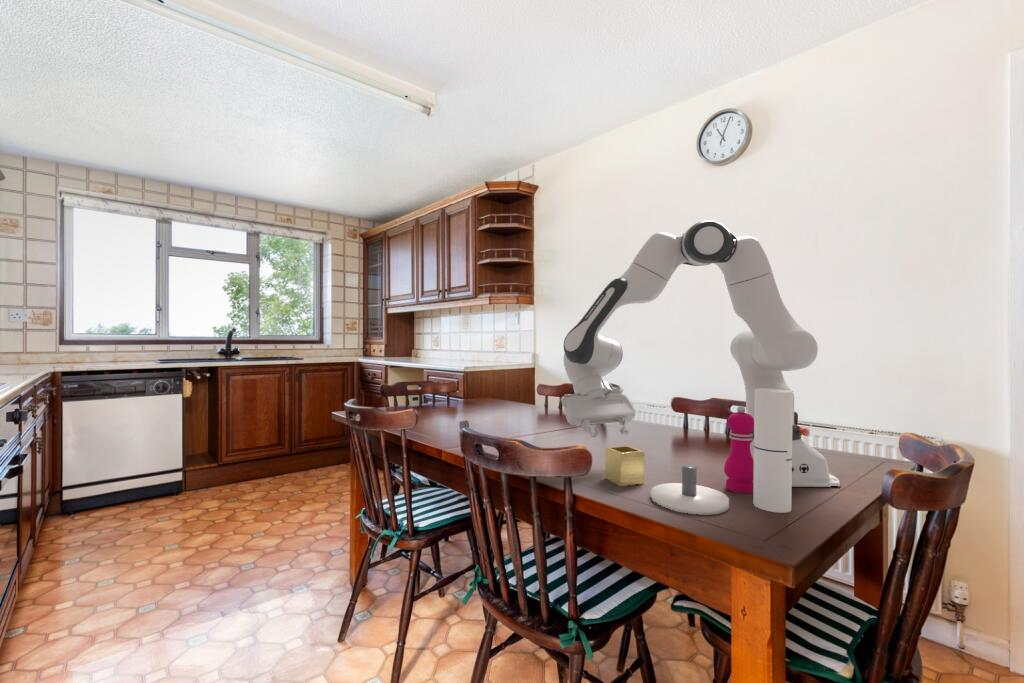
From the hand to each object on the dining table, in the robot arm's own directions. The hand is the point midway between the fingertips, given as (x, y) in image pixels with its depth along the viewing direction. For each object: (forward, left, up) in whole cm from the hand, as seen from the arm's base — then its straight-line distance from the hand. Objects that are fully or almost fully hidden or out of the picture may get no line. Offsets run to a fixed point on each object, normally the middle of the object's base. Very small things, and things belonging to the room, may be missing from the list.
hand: (610, 434), depth 122 cm
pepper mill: (-30, +7, -11) cm, 33 cm away
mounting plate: (-16, +18, -10) cm, 26 cm away
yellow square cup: (-3, +6, -10) cm, 12 cm away
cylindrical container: (-33, +18, -11) cm, 39 cm away
